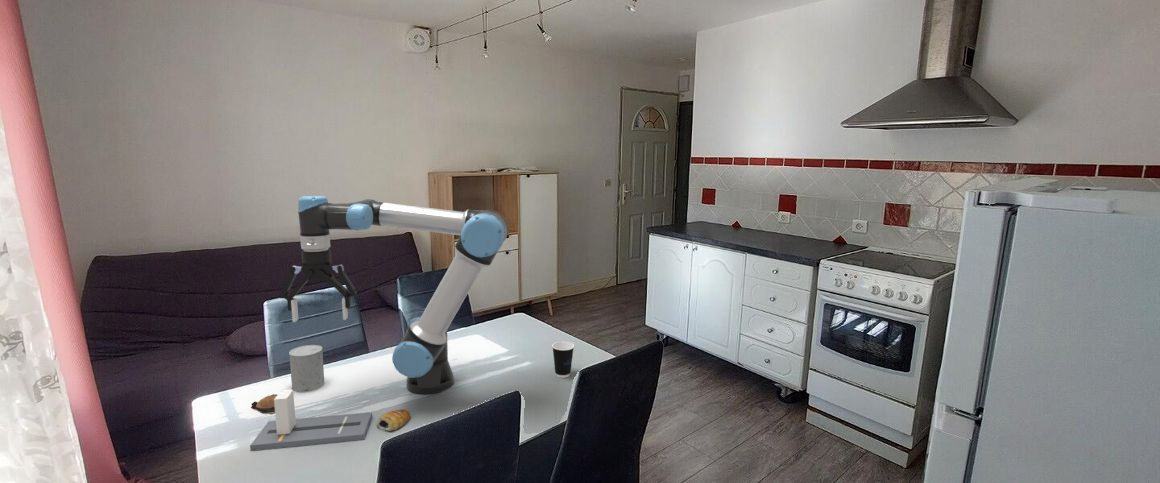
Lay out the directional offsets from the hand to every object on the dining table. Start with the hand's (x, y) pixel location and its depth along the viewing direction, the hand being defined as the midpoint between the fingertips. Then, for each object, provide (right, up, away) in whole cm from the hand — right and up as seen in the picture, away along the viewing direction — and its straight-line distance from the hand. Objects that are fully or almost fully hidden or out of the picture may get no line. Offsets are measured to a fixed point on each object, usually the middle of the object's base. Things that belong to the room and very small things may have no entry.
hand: (320, 319), depth 146 cm
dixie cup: (+71, -24, +28) cm, 80 cm away
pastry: (+24, -29, -6) cm, 38 cm away
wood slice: (-16, -27, +3) cm, 32 cm away
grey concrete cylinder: (-12, -25, +16) cm, 32 cm away
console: (+5, -29, -12) cm, 32 cm away
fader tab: (-2, -27, -14) cm, 31 cm away
